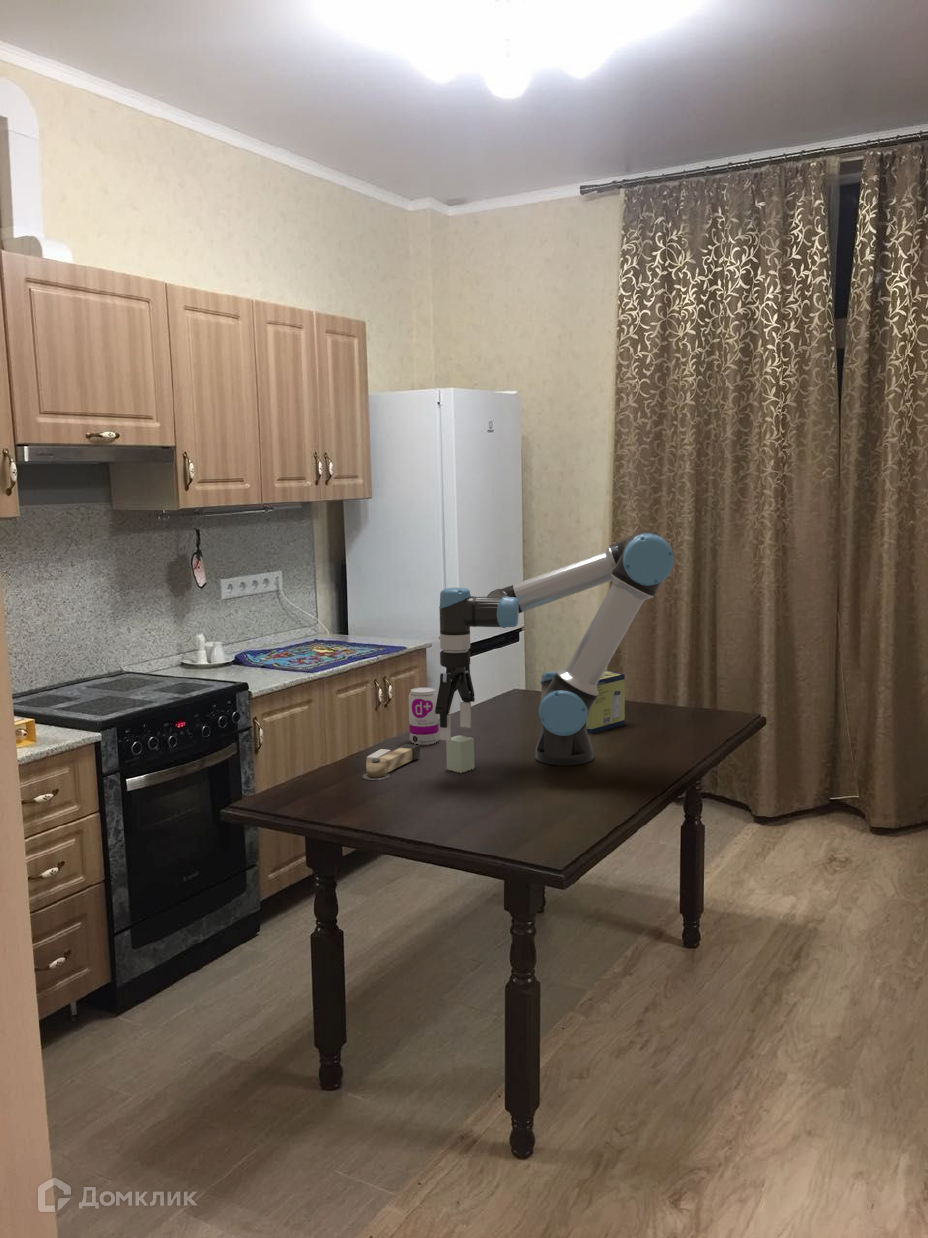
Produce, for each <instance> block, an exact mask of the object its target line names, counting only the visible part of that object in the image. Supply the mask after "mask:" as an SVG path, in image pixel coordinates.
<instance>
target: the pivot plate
mask: <svg viewBox="0 0 928 1238" xmlns="http://www.w3.org/2000/svg"><path fill="white" fill-rule="evenodd" d="M391 776H392V775H391V773H390V772H388V773H387V774H386V775H385V776H382V777H369V776H367V772H365V773H364V774H363V775H362V779H364V780H366V781H367V780H368V781H383V780H388V779H389V778H391Z"/></svg>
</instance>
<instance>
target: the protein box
mask: <svg viewBox="0 0 928 1238" xmlns="http://www.w3.org/2000/svg"><path fill="white" fill-rule="evenodd" d="M625 675H626V674H625V673H621V672H616V671H610V670H605V671H604V673H603V674H602V676H601V678H600V680H599V681H598V683H597V690H598V693H599V694H598V696H597V698H596V699H595V701H594V703H593V705H592V707H591V708H590V710H589V712H588V714H587V719H586V728H587V732H588V735H593V734H596V733H601V732H604V731H607V730H611V729H614V728H618V727H621V726H624V725H625V724H626V723H625V721H626V720H625V719H626V718H625V717H626V716H625V712H626V711H625V707H626V705H625V699H626V698H625V695H626V694H625V693H626V692H625V691H626V689H625V687H626V684H625V681H626V680H625Z"/></svg>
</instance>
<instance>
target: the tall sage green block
mask: <svg viewBox="0 0 928 1238" xmlns="http://www.w3.org/2000/svg"><path fill="white" fill-rule="evenodd" d="M445 745H446V746H445V747H446V749H445V750H446V751H445V754H446V770H447V769H448V770H447V771H451V770H452V772H455V773H459V772H460V774H462V772H463V773H465V772H468V770H469V771H472V770H474V768H475V738H474V737H469V736H466V735H461V734H458V735H455V736H451V740H450V741H449V740H445ZM471 769H472V770H471Z"/></svg>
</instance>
